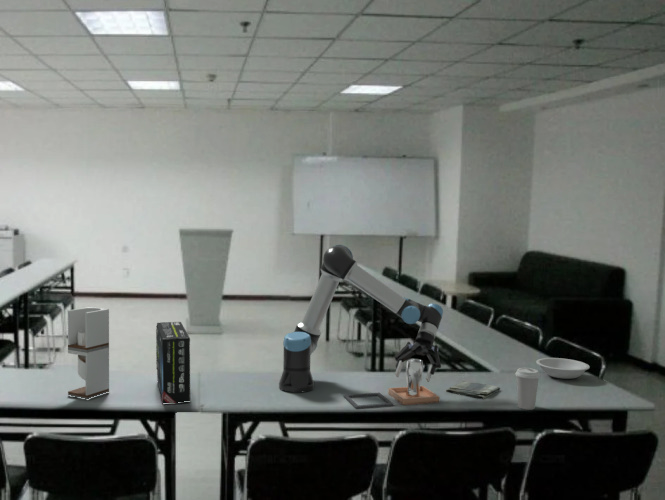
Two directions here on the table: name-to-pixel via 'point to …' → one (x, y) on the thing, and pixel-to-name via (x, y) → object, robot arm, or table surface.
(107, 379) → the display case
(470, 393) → the dish towel
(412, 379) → the beer glass
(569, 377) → the soup bowl
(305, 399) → the table surface
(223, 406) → the table surface
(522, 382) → the coffee cup
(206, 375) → the table surface
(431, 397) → the terracotta tray
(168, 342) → the router box
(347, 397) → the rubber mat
